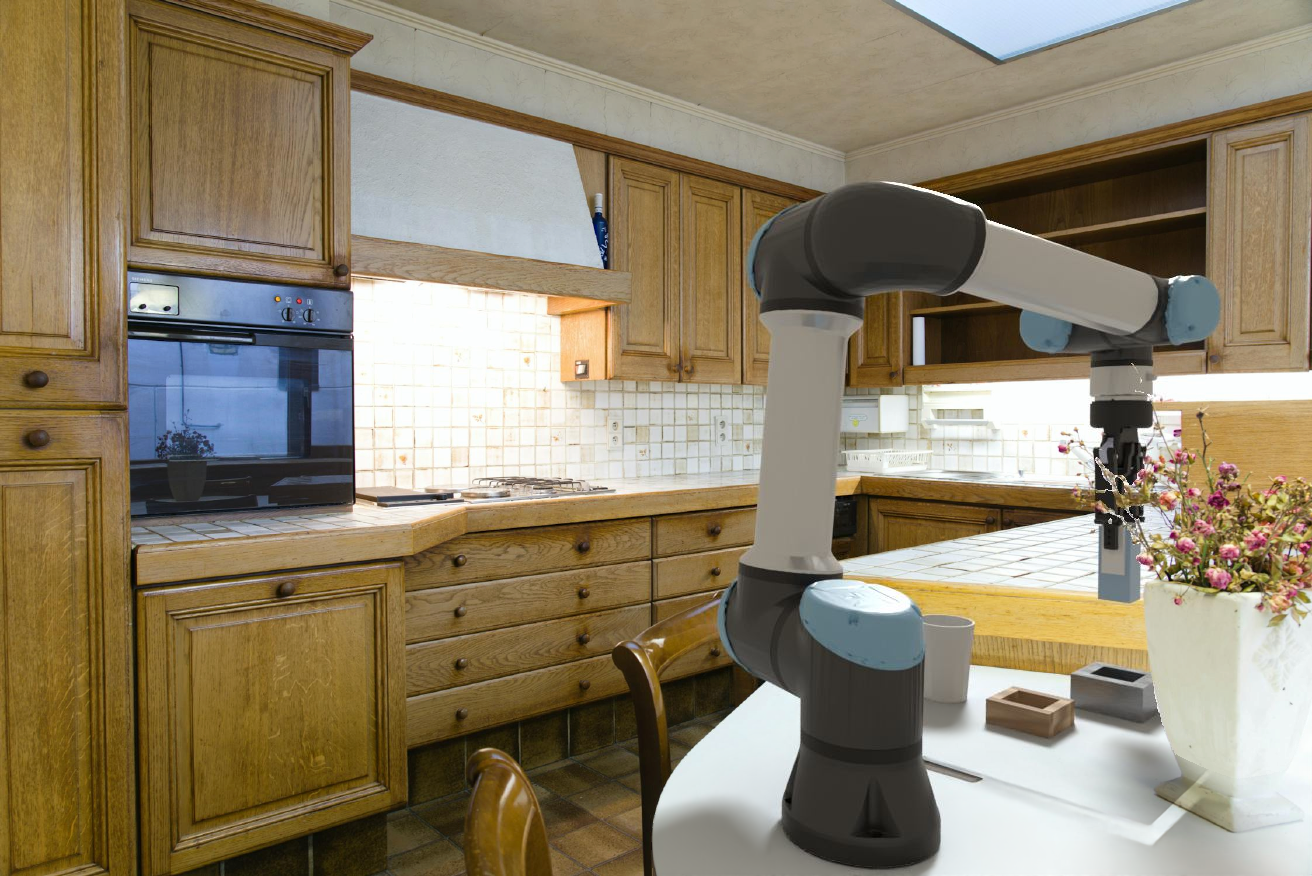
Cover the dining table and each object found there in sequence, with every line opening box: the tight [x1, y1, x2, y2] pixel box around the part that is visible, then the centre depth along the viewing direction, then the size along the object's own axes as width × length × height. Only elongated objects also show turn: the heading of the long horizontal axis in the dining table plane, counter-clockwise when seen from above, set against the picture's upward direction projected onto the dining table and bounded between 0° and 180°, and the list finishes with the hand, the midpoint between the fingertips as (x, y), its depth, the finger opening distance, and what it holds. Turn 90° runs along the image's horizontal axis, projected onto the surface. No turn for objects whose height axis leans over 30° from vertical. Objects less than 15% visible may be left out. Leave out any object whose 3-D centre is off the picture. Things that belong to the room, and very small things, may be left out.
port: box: [1069, 660, 1159, 724], centre depth 117 cm, size 9×9×5 cm
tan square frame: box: [985, 685, 1076, 740], centre depth 111 cm, size 8×8×4 cm
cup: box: [922, 613, 976, 704], centre depth 122 cm, size 8×8×12 cm
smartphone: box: [923, 758, 984, 783], centre depth 103 cm, size 7×1×15 cm
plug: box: [1097, 524, 1142, 604], centre depth 117 cm, size 4×4×10 cm
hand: (1119, 571), depth 117 cm, fingers closed on plug, 4 cm apart
